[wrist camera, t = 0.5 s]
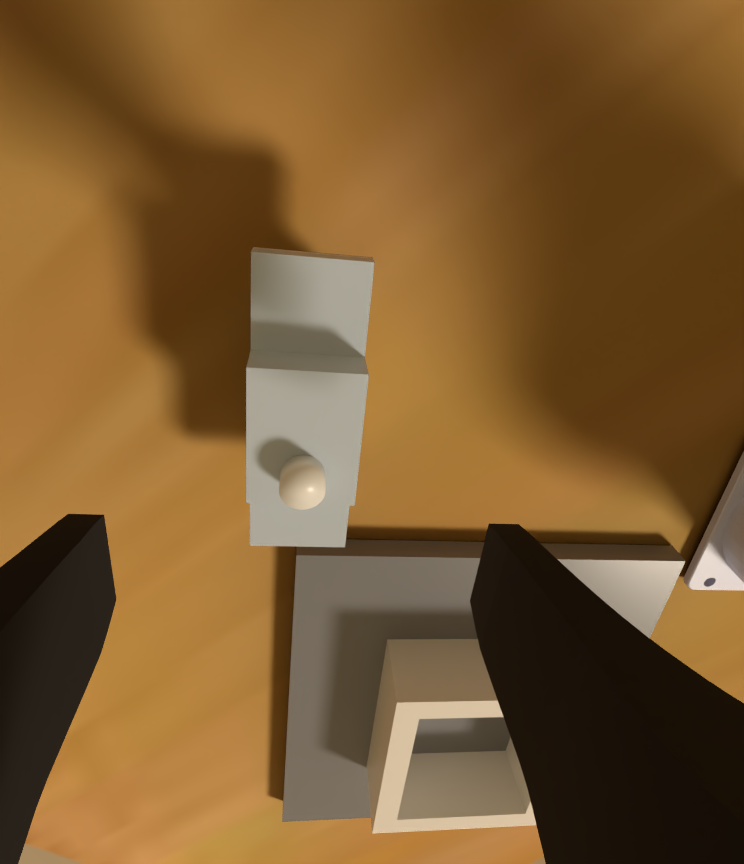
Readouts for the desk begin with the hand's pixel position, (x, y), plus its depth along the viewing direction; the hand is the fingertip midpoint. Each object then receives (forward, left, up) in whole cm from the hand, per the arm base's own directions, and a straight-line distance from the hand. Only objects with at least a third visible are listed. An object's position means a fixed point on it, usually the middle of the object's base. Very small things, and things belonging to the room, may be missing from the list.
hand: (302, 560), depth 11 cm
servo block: (0, 0, -9) cm, 9 cm away
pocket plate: (-8, +16, -9) cm, 20 cm away
